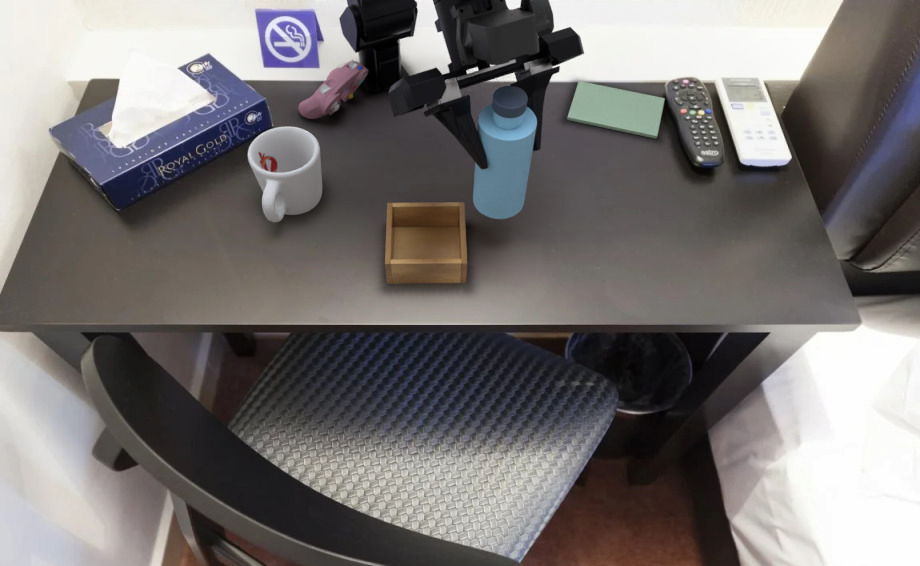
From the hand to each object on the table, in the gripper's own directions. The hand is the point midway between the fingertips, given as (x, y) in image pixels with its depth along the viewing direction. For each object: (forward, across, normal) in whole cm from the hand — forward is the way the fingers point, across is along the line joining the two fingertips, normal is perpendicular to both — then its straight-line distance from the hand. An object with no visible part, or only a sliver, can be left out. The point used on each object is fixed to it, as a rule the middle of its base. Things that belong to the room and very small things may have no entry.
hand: (510, 159), depth 66 cm
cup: (-2, -20, +21) cm, 29 cm away
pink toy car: (-12, -8, +32) cm, 35 cm away
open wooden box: (+8, -8, +11) cm, 16 cm away
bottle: (+4, 0, +6) cm, 7 cm away
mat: (0, +26, +19) cm, 32 cm away
